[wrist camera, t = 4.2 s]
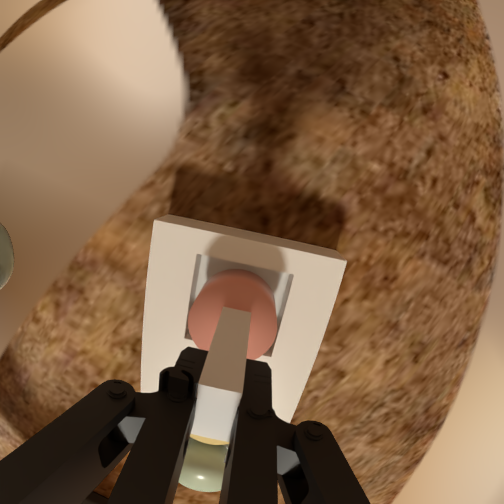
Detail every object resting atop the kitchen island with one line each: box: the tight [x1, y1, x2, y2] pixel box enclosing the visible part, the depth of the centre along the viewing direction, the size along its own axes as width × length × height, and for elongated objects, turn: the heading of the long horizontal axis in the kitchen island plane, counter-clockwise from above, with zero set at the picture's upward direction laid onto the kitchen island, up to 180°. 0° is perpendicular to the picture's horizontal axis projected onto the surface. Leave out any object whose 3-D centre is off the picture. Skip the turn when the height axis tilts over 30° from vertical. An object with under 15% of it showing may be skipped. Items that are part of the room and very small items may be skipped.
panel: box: [141, 214, 347, 449], centre depth 22 cm, size 12×25×3 cm, turn 168°
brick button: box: [188, 269, 277, 360], centre depth 18 cm, size 5×5×3 cm
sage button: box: [178, 439, 228, 492], centre depth 22 cm, size 5×5×3 cm
